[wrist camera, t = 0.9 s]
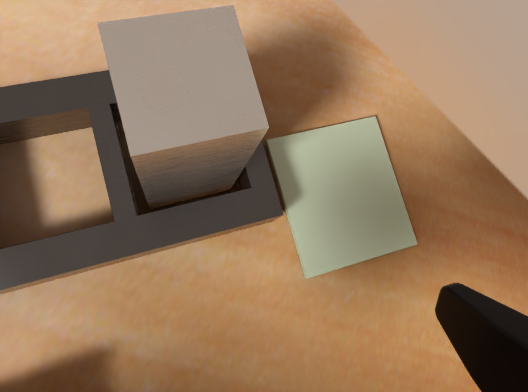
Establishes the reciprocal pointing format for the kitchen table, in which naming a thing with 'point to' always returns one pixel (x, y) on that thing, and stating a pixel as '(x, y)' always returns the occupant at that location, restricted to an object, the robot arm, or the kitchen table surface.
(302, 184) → the green mat
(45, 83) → the dark grey flat frame
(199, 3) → the kitchen table surface
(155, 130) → the grey tall rectangular block
